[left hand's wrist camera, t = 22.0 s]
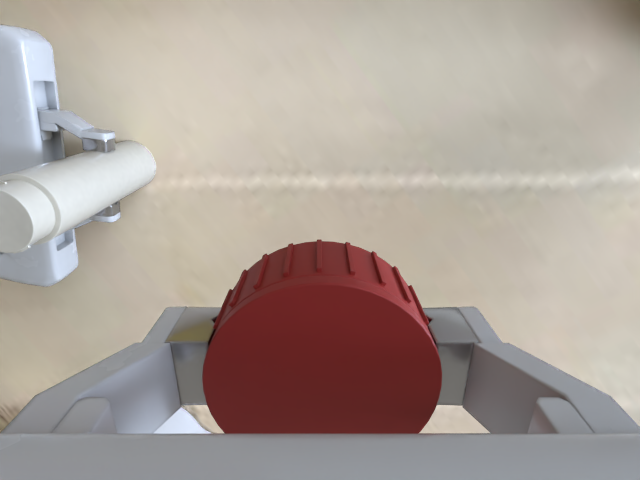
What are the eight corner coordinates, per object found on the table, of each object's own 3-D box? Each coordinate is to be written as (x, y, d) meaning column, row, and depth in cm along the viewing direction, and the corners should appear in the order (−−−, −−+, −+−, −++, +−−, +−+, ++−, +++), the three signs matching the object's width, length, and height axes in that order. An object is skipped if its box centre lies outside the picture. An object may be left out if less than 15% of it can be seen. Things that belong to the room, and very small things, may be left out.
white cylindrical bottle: (98, 154, 35) (-65, 204, 20) (137, 131, 35) (-2, 166, 19) (128, 194, 37) (-3, 270, 22) (165, 174, 36) (57, 237, 21)
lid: (457, 341, 10) (491, 403, 8) (308, 432, 12) (306, 504, 10) (339, 194, 9) (344, 227, 7) (180, 316, 10) (146, 374, 8)
